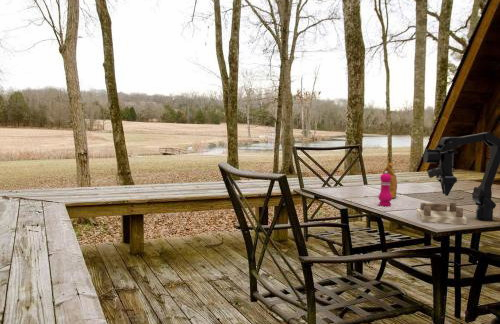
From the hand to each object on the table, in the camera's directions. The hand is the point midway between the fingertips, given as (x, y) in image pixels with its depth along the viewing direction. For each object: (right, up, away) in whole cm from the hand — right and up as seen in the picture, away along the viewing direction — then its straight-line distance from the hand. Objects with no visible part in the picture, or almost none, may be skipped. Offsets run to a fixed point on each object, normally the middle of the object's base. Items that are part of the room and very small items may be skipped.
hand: (445, 194), depth 204 cm
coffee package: (-7, -7, +63) cm, 63 cm away
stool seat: (-2, -12, +1) cm, 12 cm away
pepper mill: (-18, -9, +36) cm, 41 cm away
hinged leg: (-2, -8, +8) cm, 11 cm away
